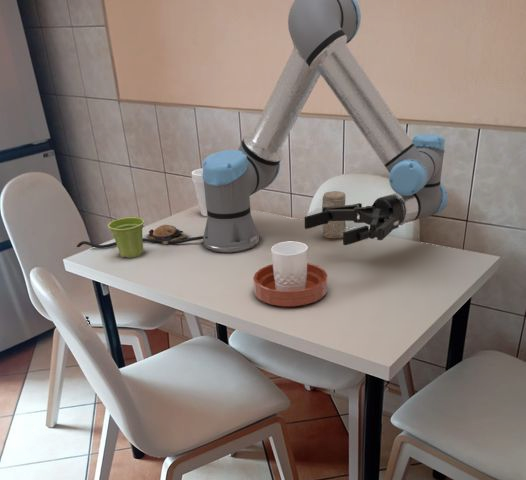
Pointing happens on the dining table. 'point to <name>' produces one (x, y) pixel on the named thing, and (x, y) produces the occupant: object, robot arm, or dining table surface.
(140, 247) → the plant pot
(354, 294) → the dining table surface
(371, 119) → the robot arm
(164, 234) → the brown domed piece
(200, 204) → the foam cup
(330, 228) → the carving
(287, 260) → the white cup
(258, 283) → the bowl
